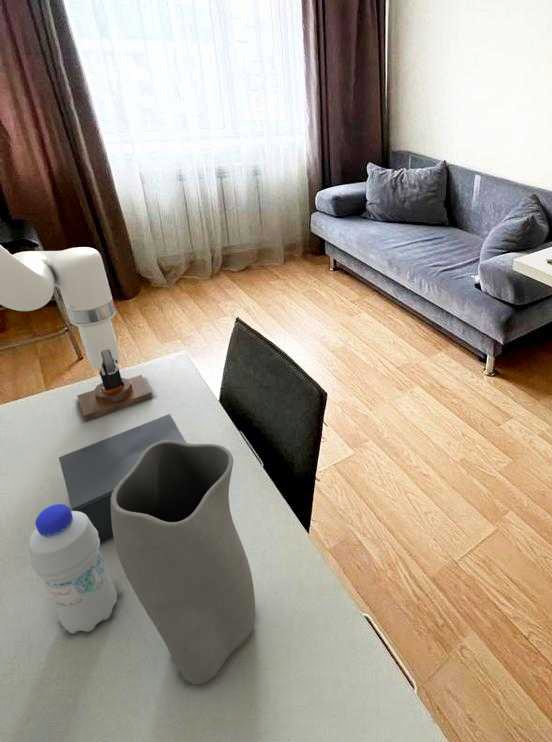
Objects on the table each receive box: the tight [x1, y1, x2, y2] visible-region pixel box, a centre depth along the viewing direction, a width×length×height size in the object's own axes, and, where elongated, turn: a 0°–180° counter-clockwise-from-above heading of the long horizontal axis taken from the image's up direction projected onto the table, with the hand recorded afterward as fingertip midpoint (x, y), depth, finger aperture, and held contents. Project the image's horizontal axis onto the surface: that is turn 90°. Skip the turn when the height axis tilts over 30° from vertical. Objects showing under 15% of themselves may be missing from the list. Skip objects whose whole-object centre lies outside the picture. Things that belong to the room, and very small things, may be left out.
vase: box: [111, 440, 257, 686], centre depth 59 cm, size 12×12×30 cm
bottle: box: [28, 503, 118, 634], centre depth 63 cm, size 7×7×20 cm
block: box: [76, 374, 153, 422], centre depth 105 cm, size 12×8×4 cm, turn 132°
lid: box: [58, 413, 187, 511], centre depth 80 cm, size 16×13×1 cm
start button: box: [102, 385, 123, 393], centre depth 104 cm, size 4×4×2 cm
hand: (113, 385), depth 104 cm, fingers closed
